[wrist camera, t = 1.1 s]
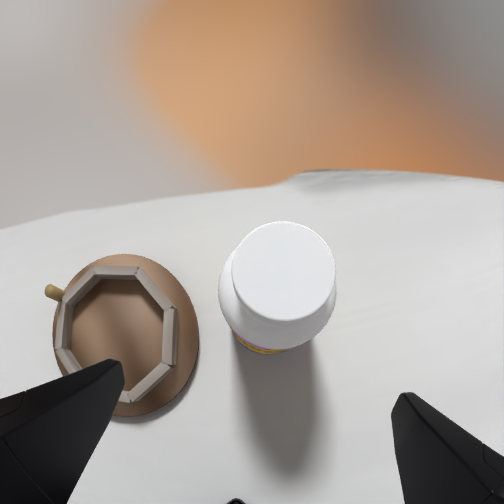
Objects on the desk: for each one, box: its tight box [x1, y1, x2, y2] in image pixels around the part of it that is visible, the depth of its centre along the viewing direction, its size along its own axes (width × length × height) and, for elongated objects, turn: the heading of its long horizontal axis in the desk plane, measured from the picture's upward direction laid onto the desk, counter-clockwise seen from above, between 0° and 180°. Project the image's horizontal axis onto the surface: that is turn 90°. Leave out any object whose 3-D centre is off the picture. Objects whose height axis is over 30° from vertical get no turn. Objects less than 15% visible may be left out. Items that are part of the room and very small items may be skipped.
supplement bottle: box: [218, 222, 336, 354], centre depth 19 cm, size 7×7×13 cm
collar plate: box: [45, 254, 199, 417], centre depth 22 cm, size 15×15×4 cm
